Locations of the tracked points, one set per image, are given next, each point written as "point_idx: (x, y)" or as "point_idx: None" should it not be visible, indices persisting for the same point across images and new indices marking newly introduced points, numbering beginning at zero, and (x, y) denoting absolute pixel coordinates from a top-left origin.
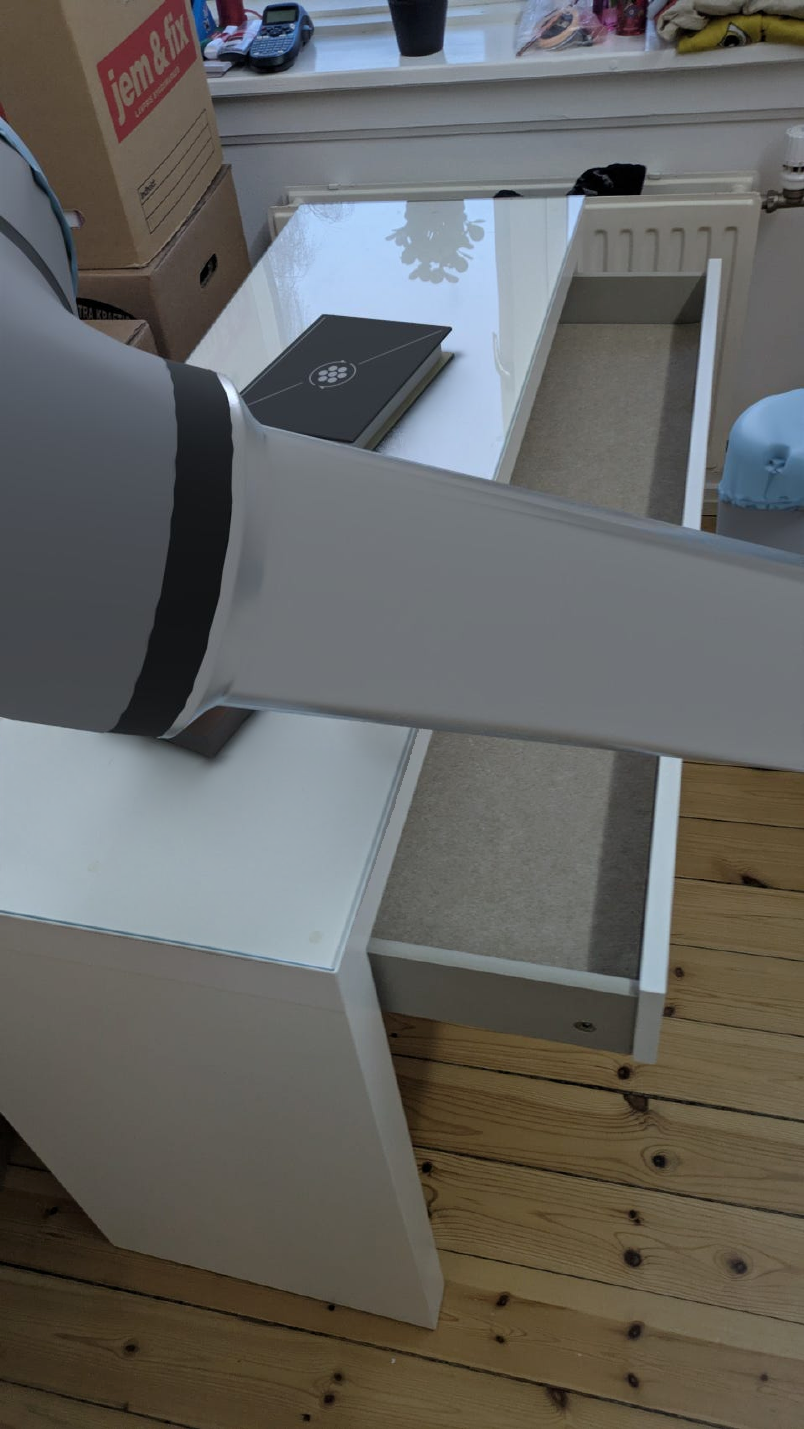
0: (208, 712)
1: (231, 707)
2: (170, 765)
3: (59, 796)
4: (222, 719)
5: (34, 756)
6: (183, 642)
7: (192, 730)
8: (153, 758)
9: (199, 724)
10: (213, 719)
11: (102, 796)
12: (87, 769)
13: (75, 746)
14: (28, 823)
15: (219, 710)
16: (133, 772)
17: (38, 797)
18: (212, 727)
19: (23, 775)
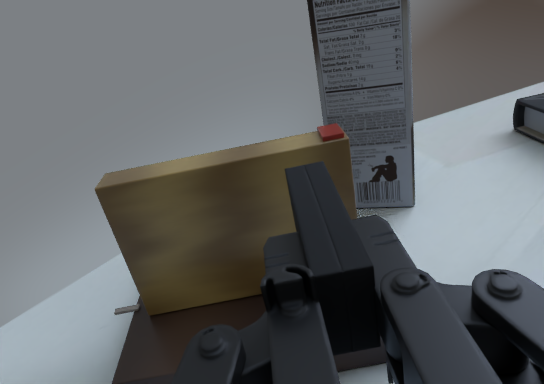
0: (156, 356)
1: (173, 372)
2: (105, 378)
3: (50, 324)
4: (150, 379)
5: (101, 277)
6: None
7: (120, 363)
8: (114, 356)
9: (131, 362)
10: (144, 370)
11: (51, 354)
12: (89, 318)
13: (119, 291)
14: (14, 328)
15: (163, 364)
16: (90, 354)
17: (49, 312)
18: (129, 379)
19: (77, 286)
